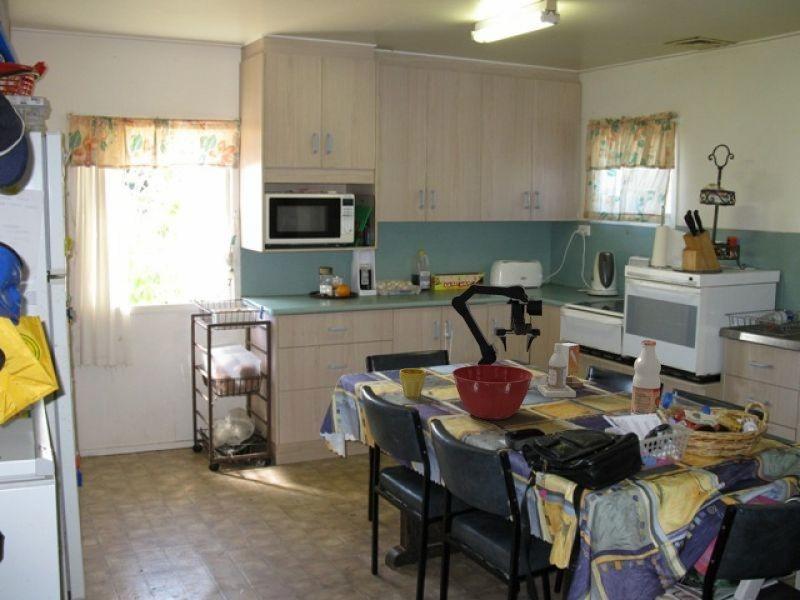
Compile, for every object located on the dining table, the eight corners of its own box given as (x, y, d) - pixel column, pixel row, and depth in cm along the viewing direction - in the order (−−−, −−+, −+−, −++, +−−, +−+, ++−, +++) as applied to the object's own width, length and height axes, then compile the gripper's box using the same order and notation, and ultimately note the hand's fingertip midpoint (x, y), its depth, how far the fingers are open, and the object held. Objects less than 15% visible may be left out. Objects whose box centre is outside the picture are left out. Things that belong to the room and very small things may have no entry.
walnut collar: (554, 387, 341) (554, 382, 341) (546, 381, 353) (546, 376, 353) (582, 387, 342) (583, 382, 342) (573, 381, 354) (574, 376, 354)
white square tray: (545, 397, 324) (546, 392, 324) (537, 390, 336) (538, 385, 336) (575, 397, 326) (576, 392, 325) (566, 389, 337) (566, 385, 337)
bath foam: (543, 392, 331) (545, 343, 329) (554, 390, 336) (556, 341, 334) (557, 396, 326) (560, 346, 324) (568, 393, 331) (570, 344, 329)
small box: (568, 375, 365) (569, 346, 363) (556, 373, 370) (557, 344, 368) (578, 373, 371) (579, 344, 369) (566, 370, 375) (567, 342, 373)
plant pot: (426, 398, 318) (427, 373, 317) (400, 398, 318) (400, 373, 316) (424, 392, 329) (424, 368, 327) (398, 392, 328) (398, 368, 327)
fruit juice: (627, 415, 300) (631, 338, 296) (652, 415, 300) (657, 339, 297) (635, 422, 291) (640, 343, 287) (662, 422, 291) (666, 343, 287)
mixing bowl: (475, 429, 278) (476, 384, 276) (437, 408, 304) (438, 367, 302) (546, 421, 290) (548, 378, 288) (504, 402, 316) (506, 362, 314)
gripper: (499, 317, 337) (498, 355, 339) (544, 318, 339) (543, 355, 341) (494, 313, 348) (492, 350, 350) (537, 314, 350) (536, 350, 352)
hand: (516, 351), depth 348 cm, fingers open, 9 cm apart
